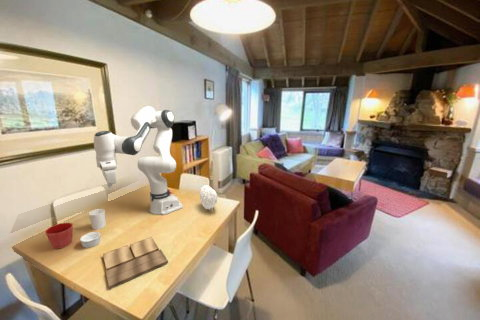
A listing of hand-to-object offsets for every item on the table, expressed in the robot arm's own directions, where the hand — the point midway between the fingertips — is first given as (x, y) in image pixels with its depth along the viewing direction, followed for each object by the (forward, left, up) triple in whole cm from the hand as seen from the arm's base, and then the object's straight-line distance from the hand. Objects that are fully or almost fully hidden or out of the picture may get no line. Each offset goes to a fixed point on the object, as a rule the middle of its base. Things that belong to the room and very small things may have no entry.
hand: (110, 187), depth 112 cm
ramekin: (+12, +1, -30) cm, 32 cm away
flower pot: (+24, -7, -29) cm, 39 cm away
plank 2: (-9, +23, -29) cm, 38 cm away
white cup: (+7, -15, -29) cm, 34 cm away
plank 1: (+3, +23, -29) cm, 37 cm away
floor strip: (-3, +35, -29) cm, 46 cm away
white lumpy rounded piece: (-58, +5, -29) cm, 65 cm away
